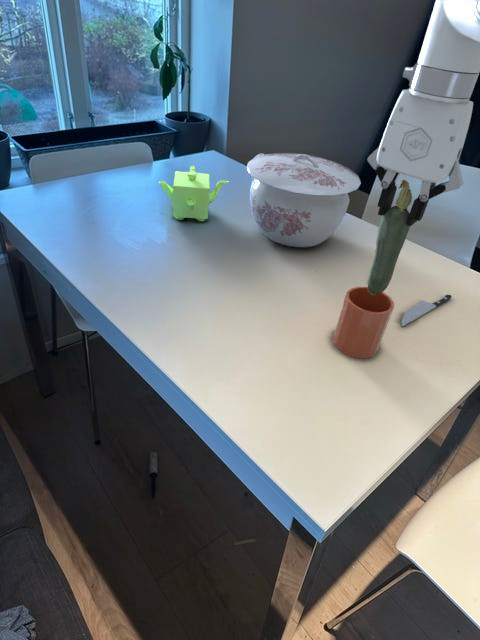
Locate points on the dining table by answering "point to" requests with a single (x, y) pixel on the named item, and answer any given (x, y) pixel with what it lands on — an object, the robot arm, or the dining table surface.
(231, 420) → the dining table surface
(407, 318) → the chef's knife
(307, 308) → the dining table surface
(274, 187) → the chamber pot
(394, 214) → the vegetable
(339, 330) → the cup
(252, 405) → the dining table surface
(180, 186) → the kettle
